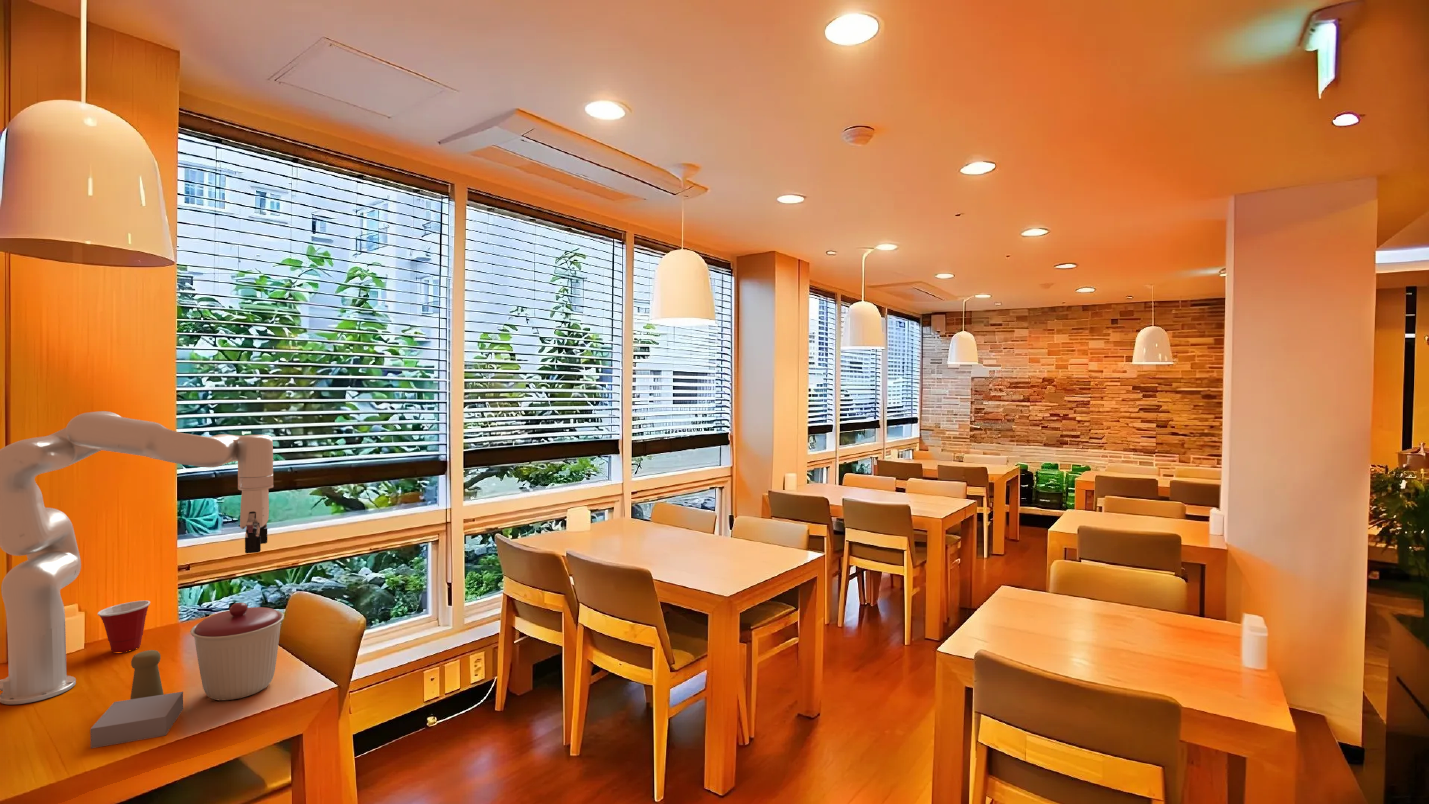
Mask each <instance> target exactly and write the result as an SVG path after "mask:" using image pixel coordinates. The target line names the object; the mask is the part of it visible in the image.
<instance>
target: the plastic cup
mask: <svg viewBox="0 0 1429 804" xmlns="http://www.w3.org/2000/svg"><path fill="white" fill-rule="evenodd" d="M150 605H151V601H150V600H136V601H130V602H125V603H119V604H115V605H113V606H108V607H106V608H104V609H101V610H99V611H98V612H97V616H98V617H99V618H100V619H101V620H102V624H103V625H104V630H105V633H106V637H107V641H108V642H109V647H110V649H111V652H112V651H113V652H126V651H129V650H134V649H136V648H138V647H139V648H140V647H141V645H142V638H143V636H144V635H143V634H144V630H145V625H146V624H145V623H146V617H147V615H148V614H147V613H148V611H149V610H148V608H149V606H150ZM139 648H138V649H139ZM136 650H137V649H136ZM134 651H135V650H134ZM113 652H112V653H113ZM126 653H127V652H126Z"/></svg>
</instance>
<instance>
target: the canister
mask: <svg viewBox="0 0 1429 804" xmlns="http://www.w3.org/2000/svg"><path fill="white" fill-rule="evenodd" d="M284 619H285V614H284V613H283V612H282V611H280V610H276V609H274V608H271V607H266V606H265V607H261V606H255V607H254V606H253V607H248V605H247V603H245V602H235V603H233V604H232V605H231V606H230V607H229V609H228V610H227V611H222V612H219V613H217V614H213V615H211V616H208V617H207V618H204V619H203V620H201V621H200V622H198V623H197V624H195V625H194V626H193V627H192V628H191V629H190V633H189V634H190V635H191V636H192V637H194V644H195V650H196V655H197V656H196V657H197V663H198V669H199V670H198V671H199V675H200V679H201V680H200V681H201V685H202V689H203V691H204V693H205V695H206V696H207V697H208V698H210V699H212V700H216V701H230V700H238V699H242V698H246V697H249V696H252V695H255V694H256V693H259V692H261V691H263V690H264V689H266V688H267V687H268V686H269V685H270V684H271V683H272V681H273V678H274V676H275V672H276V665H277V659H278V650H279V644H280V643H279V641H280V635H281V633H280V631H281V624H282V622H283V621H284Z"/></svg>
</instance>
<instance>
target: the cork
mask: <svg viewBox="0 0 1429 804" xmlns="http://www.w3.org/2000/svg"><path fill="white" fill-rule="evenodd" d="M160 662H161V653H160V652H159V651H158V650H156V649H154V650H153V649H149V650H144V651H141V652H138V653H135V655H133V656H132V658H131V662H130V663H131V665H130V666H131V667H132V668H133V669H134V670H133V677H132V685H131V692H130V699H129V700H131V699H137V698H144V697H150V696H157V695H164V689H163V686H162V685H163V683H162V680H161V675H160V669H159V664H160Z"/></svg>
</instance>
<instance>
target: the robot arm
mask: <svg viewBox="0 0 1429 804" xmlns="http://www.w3.org/2000/svg"><path fill="white" fill-rule="evenodd" d="M273 441H274V440H273V438H272V437H271V436H270V435H268V434H248V435H247V434H246V435H238V434H226V433H224V434H223V433H222V434H221V433H220V434H216V435H211V436H204V435H198V434H192V433H186V432H185V433H184V432H179V431H175V430H172V429H169V428H167V427H165V426H164V425H162V424H161V423H159V422H155V421H151V420H150V421H148V420H142V419H135V418H129V417H123V416H121V415H119V414H117V413H115V412H112V411H105V410H101V411H100V410H99V411H90V412H83V413H80V414H78V415H76V416H74V417H73V418H71V419H70V421H68V423H67V425H66V427H64V428H62V429H60V430H58V431H56V432H54V433H51V434H49V435H46V436H37V437H31V438H25V439H21V440H18V441H15V442H13V443H10V444H8V445H6V446H4V447H2V448H0V549H1V550H2V551H3V552H4V553H6V554H8V555H11V556H17V557H22V556H26V558H27V560H25V561H22V562H20V563H19V564H17V565H15V566H14V567H12V568H11V569H10V570H9V571H8V572H7V573H6V574H5V576H4V577H3V579H2V582H1V590H0V591H1V598H2V601H3V603H4V604H3V605H4V610H5V615H6V632H7V661H8V676H7V677H5V678H3V679H0V691H1V693H0V703H1V704H4V705H23V704H30V703H34V702H40V701H43V700H48V699H51V698H52V697H55V696H58V695H61V694H64V693H65V692H67V691H69V690H71V689H72V688H73V687H75V685H76V684H77V682H76V681H77V679H76V677H74V676H71V675H68V674H67V642H66V638H67V637H66V633H67V632H66V612H65V605H64V601H63V599H62V596H61V590H62V589H63V588H65V587H66V586H69V584H72V583H73V582H74V581H75V580H76V579H77V577H78V576H80V575H79V574H80V572H81V570H82V559H81V555H80V551H79V548H78V543H77V539H76V538H77V537H76V534H75V530H74V529H75V528H74V525H73V523H72V521H71V519H70V518H69V516H67V514H66V513H65V512H64V511H61V510H59V509H58V508H53V507H46V506H45V503H44V497H43V494H42V493H43V492H42V491H41V488H40V487H39V485H38V484H37V483H36V482H37V481H36V480H35V479H36V477H37V476H38V475H41V474H45V473H49V472H53V471H58V470H61V469H64V468H66V467H69V466H71V465H73V464H76V463H78V462H81V460H84V459H86V458H88V457H90V456H92V455H94V454H96V453H99V452H101V451H105V452H111V453H113V452H114V453H120V454H127V455H134V456H140V457H146V458H149V459H153V460H159V461H163V462H168V463H173V464H179V465H185V466H193V467H201V468H218V467H221V466H223V465H226V464H229V463H233V462H237V490H239V491H241V496H240V498H241V499H240V516H239V517H240V519H239V521H240V522H239V528H240V529H241V530H244V529H245V535H244V552H245V554H255V553H260V552H261V551H262V549H261V548H262V547H261V545H262V544H263V545H264V544H267V543H268V526H267V525H268V524H267V523H268V522H269V516H270V515H269V513H270V512H269V511H270V505H269V503H270V501H269V500H270V498H269V496H270V495H269V494H270V493H269V490H270V489H273V488H274V448H273V447H274V443H273Z"/></svg>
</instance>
